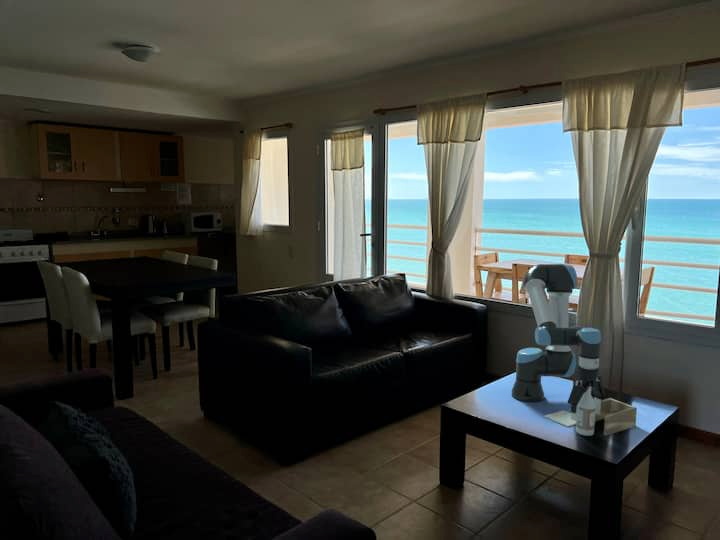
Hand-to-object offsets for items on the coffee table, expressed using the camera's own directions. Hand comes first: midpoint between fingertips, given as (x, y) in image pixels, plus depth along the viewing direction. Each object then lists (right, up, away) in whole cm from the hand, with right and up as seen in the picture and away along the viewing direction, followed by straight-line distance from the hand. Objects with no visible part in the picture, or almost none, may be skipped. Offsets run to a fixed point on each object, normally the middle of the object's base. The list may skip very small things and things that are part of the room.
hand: (585, 416), depth 210 cm
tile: (-3, -5, +14) cm, 15 cm away
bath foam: (0, -7, +1) cm, 7 cm away
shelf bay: (+12, -6, +8) cm, 16 cm away
